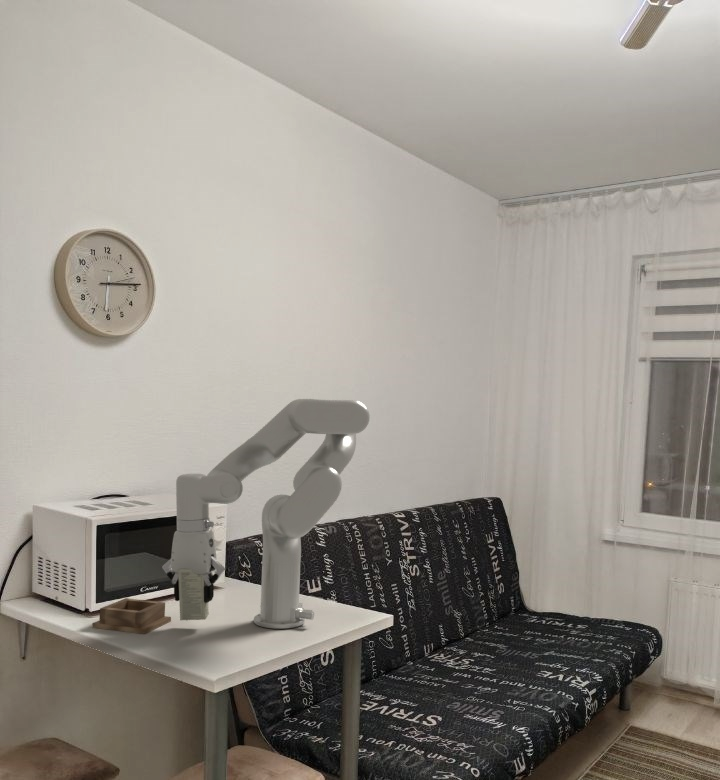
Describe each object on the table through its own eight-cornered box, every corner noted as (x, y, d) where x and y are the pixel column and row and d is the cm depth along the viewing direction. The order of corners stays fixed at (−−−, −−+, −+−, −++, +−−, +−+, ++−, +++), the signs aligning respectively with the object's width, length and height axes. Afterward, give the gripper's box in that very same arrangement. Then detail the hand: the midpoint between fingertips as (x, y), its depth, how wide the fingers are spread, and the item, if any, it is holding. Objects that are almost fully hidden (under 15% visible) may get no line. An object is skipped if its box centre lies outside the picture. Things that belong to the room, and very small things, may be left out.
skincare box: (209, 615, 187) (208, 564, 187) (205, 620, 182) (204, 568, 183) (183, 615, 187) (182, 565, 187) (178, 620, 182) (177, 569, 183)
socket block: (170, 621, 191) (171, 602, 191) (145, 633, 179) (145, 614, 179) (120, 615, 194) (121, 597, 195) (92, 627, 183) (93, 608, 183)
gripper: (232, 524, 186) (233, 598, 186) (168, 522, 191) (169, 594, 191) (219, 529, 179) (220, 606, 179) (152, 527, 184) (153, 602, 183)
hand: (193, 599), depth 185 cm, fingers closed on skincare box, 6 cm apart
